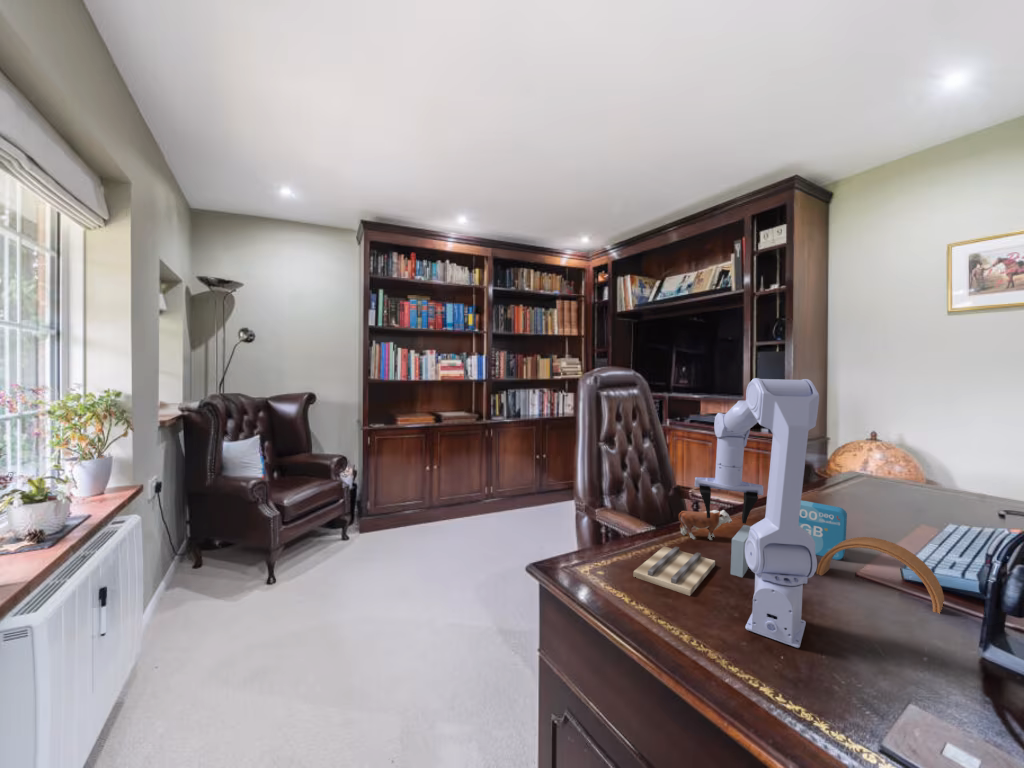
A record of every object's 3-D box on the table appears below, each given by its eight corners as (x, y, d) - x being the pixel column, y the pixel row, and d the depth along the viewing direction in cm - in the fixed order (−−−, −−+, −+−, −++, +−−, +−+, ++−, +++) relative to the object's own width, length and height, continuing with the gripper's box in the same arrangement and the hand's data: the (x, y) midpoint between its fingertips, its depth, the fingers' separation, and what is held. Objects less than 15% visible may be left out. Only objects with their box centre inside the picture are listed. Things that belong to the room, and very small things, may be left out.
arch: (824, 567, 101) (826, 525, 101) (944, 605, 86) (947, 555, 85) (816, 574, 98) (818, 530, 97) (939, 615, 82) (942, 563, 82)
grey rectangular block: (742, 577, 95) (743, 542, 95) (730, 574, 97) (731, 539, 96) (753, 560, 104) (754, 527, 104) (742, 557, 106) (743, 524, 106)
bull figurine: (732, 543, 114) (733, 513, 114) (678, 538, 117) (679, 508, 116) (728, 537, 118) (729, 508, 118) (676, 532, 121) (677, 503, 121)
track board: (689, 595, 87) (690, 585, 87) (633, 576, 95) (633, 566, 94) (714, 565, 101) (715, 556, 101) (663, 551, 108) (663, 542, 108)
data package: (785, 547, 112) (787, 501, 112) (788, 542, 116) (790, 498, 115) (843, 561, 104) (845, 512, 104) (845, 556, 108) (847, 508, 107)
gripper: (761, 463, 103) (758, 518, 105) (696, 456, 109) (693, 508, 110) (766, 471, 97) (762, 529, 98) (696, 463, 103) (693, 518, 104)
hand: (725, 519), depth 104 cm, fingers open, 7 cm apart
